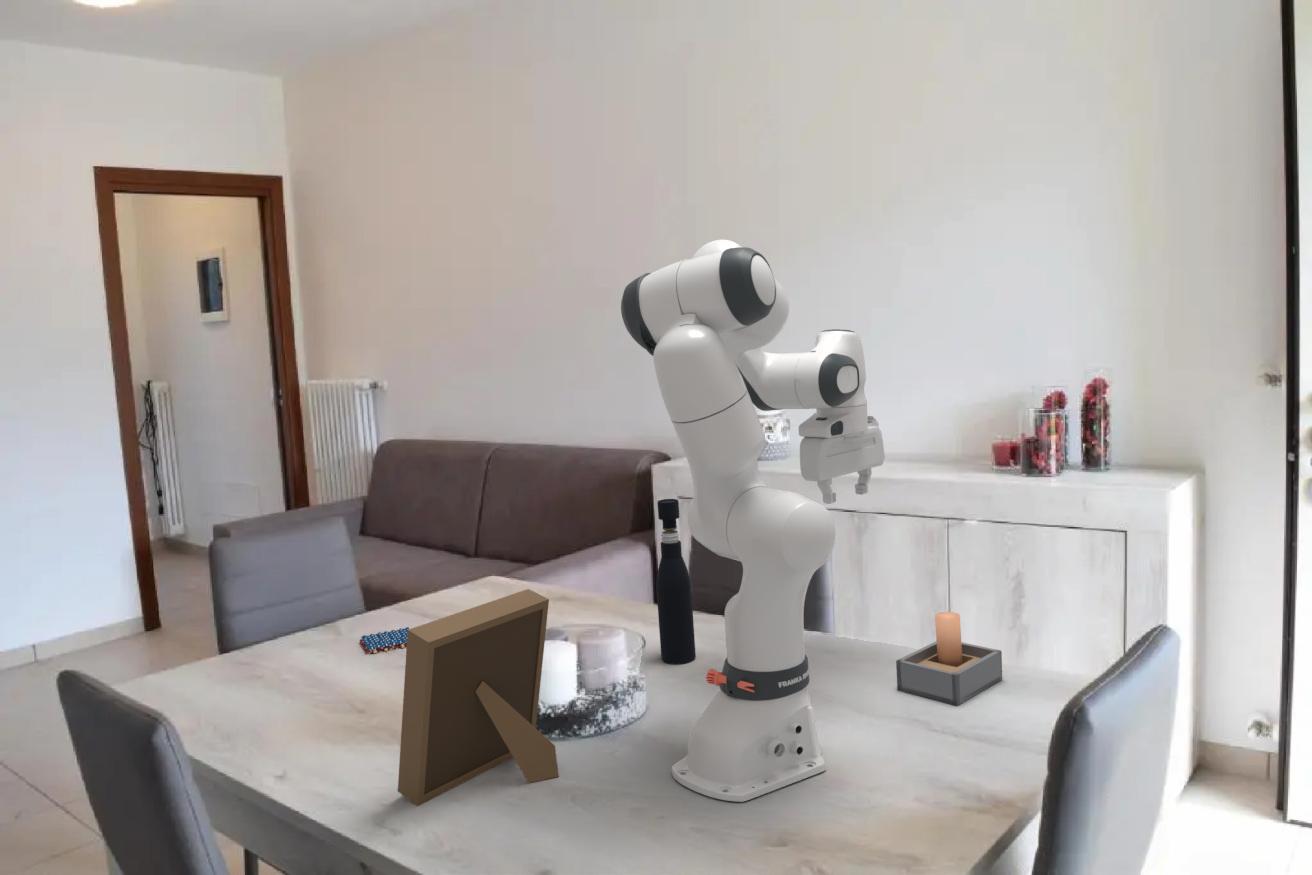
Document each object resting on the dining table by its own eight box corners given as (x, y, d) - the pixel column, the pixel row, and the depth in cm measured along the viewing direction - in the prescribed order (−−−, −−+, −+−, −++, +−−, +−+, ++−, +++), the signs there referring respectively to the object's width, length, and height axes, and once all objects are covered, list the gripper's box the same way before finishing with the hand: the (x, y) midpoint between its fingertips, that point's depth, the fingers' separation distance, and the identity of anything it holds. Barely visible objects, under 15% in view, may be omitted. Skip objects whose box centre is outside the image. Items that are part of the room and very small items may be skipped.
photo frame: (398, 797, 139) (382, 623, 136) (514, 740, 155) (502, 583, 152) (468, 828, 129) (452, 641, 126) (584, 764, 146) (573, 597, 143)
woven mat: (358, 644, 211) (357, 635, 211) (409, 634, 215) (408, 625, 215) (366, 658, 202) (365, 648, 201) (419, 648, 206) (418, 638, 206)
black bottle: (682, 666, 183) (671, 505, 179) (654, 661, 187) (643, 502, 183) (702, 655, 188) (692, 498, 184) (674, 650, 192) (664, 496, 188)
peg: (954, 679, 165) (951, 620, 164) (933, 674, 168) (930, 616, 167) (968, 672, 168) (964, 614, 167) (947, 667, 171) (943, 610, 170)
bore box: (957, 705, 157) (956, 675, 156) (897, 689, 165) (896, 660, 164) (1002, 679, 166) (1001, 650, 166) (943, 665, 174) (942, 638, 174)
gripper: (862, 414, 186) (865, 487, 188) (791, 428, 173) (796, 506, 174) (891, 414, 182) (894, 489, 183) (821, 429, 168) (825, 510, 170)
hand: (846, 498), depth 179 cm, fingers open, 8 cm apart
